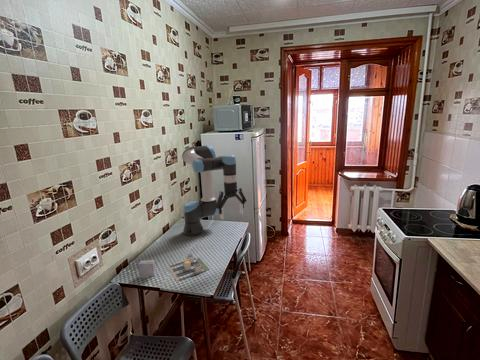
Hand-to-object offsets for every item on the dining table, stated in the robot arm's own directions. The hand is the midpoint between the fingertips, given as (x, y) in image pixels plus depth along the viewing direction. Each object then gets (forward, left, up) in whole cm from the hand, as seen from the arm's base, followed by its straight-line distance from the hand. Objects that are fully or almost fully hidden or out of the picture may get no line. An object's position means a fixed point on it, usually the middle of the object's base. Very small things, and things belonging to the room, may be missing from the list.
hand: (232, 216), depth 155 cm
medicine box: (-8, -50, -26) cm, 57 cm away
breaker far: (-6, -26, -25) cm, 36 cm away
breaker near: (+6, -26, -25) cm, 36 cm away
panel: (0, -28, -26) cm, 38 cm away
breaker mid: (0, -30, -25) cm, 39 cm away
